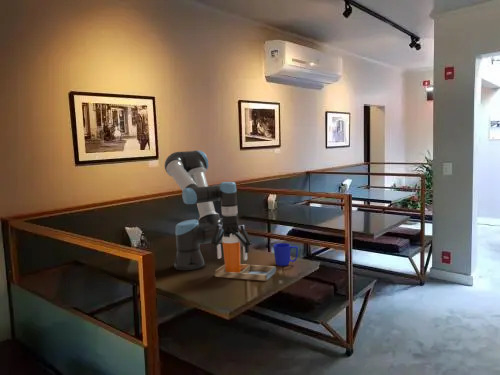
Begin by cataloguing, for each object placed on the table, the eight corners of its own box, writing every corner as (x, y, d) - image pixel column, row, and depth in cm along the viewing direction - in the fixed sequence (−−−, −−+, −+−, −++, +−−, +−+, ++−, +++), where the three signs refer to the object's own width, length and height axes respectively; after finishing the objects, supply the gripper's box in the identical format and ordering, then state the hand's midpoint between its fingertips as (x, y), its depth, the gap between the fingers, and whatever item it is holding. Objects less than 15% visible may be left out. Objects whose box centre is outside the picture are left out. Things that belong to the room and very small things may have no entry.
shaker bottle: (245, 271, 200) (243, 230, 198) (237, 276, 192) (234, 234, 190) (229, 269, 204) (226, 229, 202) (220, 275, 196) (217, 233, 194)
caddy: (214, 276, 194) (213, 271, 194) (226, 268, 207) (226, 263, 206) (266, 280, 184) (266, 275, 184) (276, 271, 197) (275, 266, 196)
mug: (297, 267, 202) (296, 247, 201) (273, 267, 204) (272, 247, 203) (299, 262, 210) (298, 243, 209) (275, 262, 212) (274, 243, 211)
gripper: (202, 215, 196) (205, 259, 198) (251, 216, 187) (253, 262, 189) (209, 213, 203) (212, 255, 205) (257, 213, 194) (259, 258, 196)
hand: (232, 258), depth 197 cm, fingers open, 13 cm apart
